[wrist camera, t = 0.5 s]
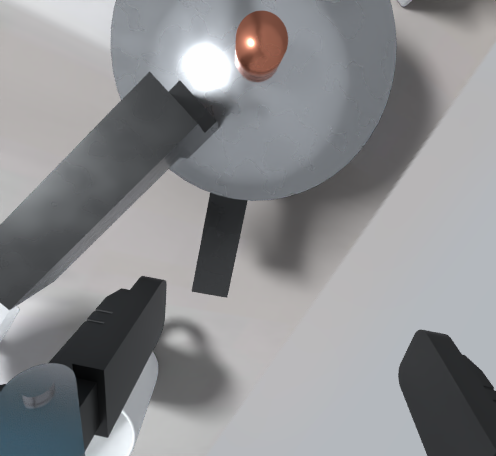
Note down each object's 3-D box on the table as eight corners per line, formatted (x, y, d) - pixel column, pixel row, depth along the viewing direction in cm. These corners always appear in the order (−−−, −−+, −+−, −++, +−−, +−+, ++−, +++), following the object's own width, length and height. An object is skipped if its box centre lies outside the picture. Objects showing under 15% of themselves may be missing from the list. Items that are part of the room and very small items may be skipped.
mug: (117, 297, 36) (74, 347, 26) (182, 323, 37) (165, 381, 27) (81, 381, 38) (27, 458, 28) (144, 404, 39) (115, 486, 29)
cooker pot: (176, -17, 31) (147, -118, 20) (349, 29, 32) (409, -40, 22) (136, 244, 35) (95, 278, 24) (289, 273, 37) (314, 316, 26)
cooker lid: (263, -165, 20) (291, -431, 11) (436, 75, 23) (562, 19, 14) (-31, 151, 22) (-201, 140, 13) (164, 326, 25) (130, 408, 17)
